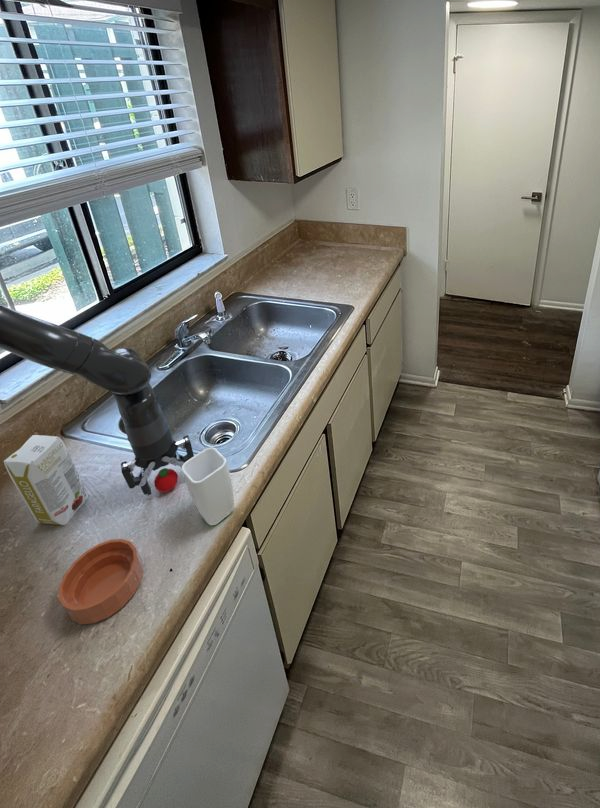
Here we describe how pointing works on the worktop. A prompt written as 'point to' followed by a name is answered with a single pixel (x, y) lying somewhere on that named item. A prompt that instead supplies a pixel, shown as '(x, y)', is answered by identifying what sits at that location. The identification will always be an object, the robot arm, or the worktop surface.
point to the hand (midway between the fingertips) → (167, 483)
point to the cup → (209, 485)
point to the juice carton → (47, 479)
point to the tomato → (165, 480)
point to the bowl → (101, 581)
